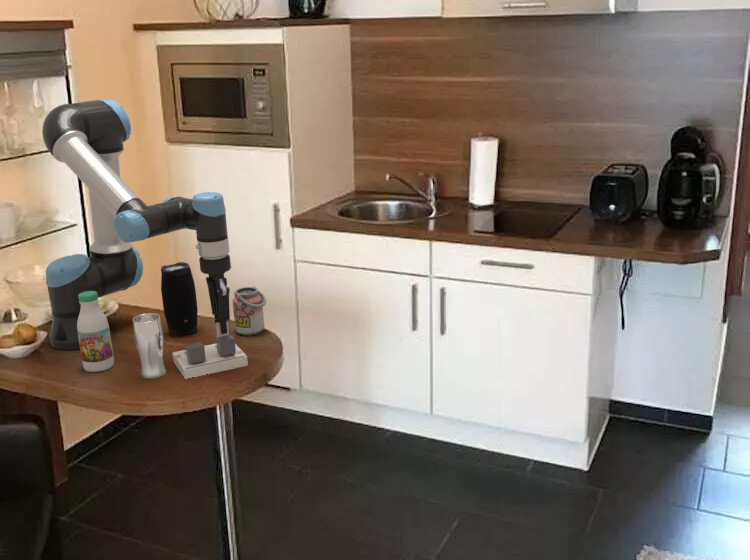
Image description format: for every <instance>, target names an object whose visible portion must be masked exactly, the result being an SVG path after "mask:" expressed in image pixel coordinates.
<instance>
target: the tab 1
mask: <svg viewBox="0 0 750 560" xmlns="http://www.w3.org/2000/svg"><path fill="white" fill-rule="evenodd" d="M204 346H205V344H203V342H202V341H199V342H195V343H190V344H189V343H188V344H185V346H184V347H185V350H186V355H187V361H188V362H189V363H190V364H193V363H197V362H202V361H206V357H205V348H204Z"/></svg>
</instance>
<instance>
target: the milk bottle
mask: <svg viewBox="0 0 750 560" xmlns="http://www.w3.org/2000/svg"><path fill="white" fill-rule="evenodd" d="M78 298H79V303H80V304H81V309H80V314H79V317H78V321H77V331H78V338H79V345H80V350H79V351H80V357H81V361H82V362H81V363H82V367H83V370H85V372H89V373H97V372H98V373H99V372H103V371H106V370H109V369H111V368H112V367H114V365H115V357H114V352H113V351H114V350H113V344H112V337H111V331H110V330H111V329H110V326H109V321H108V318H107V316H106V315H105V313H104V312H103V311H102V308H101V307H100V305H99V302H98V301H99V298H98V294H97V292H96V291H86V292H82V293H80V294H79V295H78Z"/></svg>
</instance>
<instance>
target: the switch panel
mask: <svg viewBox="0 0 750 560" xmlns="http://www.w3.org/2000/svg"><path fill="white" fill-rule="evenodd" d="M235 347H236V353H234V354H229V355H225V356H220V355H219V354H218V352H217V344H216V343H212V344H208V345H207V344H206V345H204V348H205V357H206V361H202V362H197V363H193V364H190V363H189V362H188V361H187V355H186V349H182V350H179V351H178V350H177V351H173V352H172V353H171V354H172V356H171V357H172V362H173V364H175V366H176V368H177V370H178V371H179V372H180V374H181V375H182V376H184V377H183V378H184V379H185V380H188V378H190V379H193V378H192V377H194V378H198V376H199V377H203V376H207V375H206V374H208V375H211V373H212V374H215V373H221V372H226V371H229V370H233V369H239V368H243V367H248V366H249V363H248V361H249V360H248V356H247V354H246V353H245V352H244V351H243V350H242V349H241V348H240V347H239V346H238V344H236V343H235ZM202 375H203V376H202Z"/></svg>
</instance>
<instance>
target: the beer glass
mask: <svg viewBox="0 0 750 560" xmlns="http://www.w3.org/2000/svg"><path fill="white" fill-rule="evenodd" d="M132 330H133V331H132V332H133V339H134V343H135V346H136V349H137V353H138V356H139V360H140V363H141V367H140V369H141V372H140V376H141V378H143V379H147V380H153V379H158V378H159V379H160V378H162V377H163V376H165V375H166V374H167V369H166V366H165V363H164V359H163V358H164V357H163V356H164V331H163V325H162V320H161V316H160V314H158V313H153V312H151V313H149V312H148V313H143V314H139V315H136V316H134V317H133V318H132ZM161 376H162V377H161Z"/></svg>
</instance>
